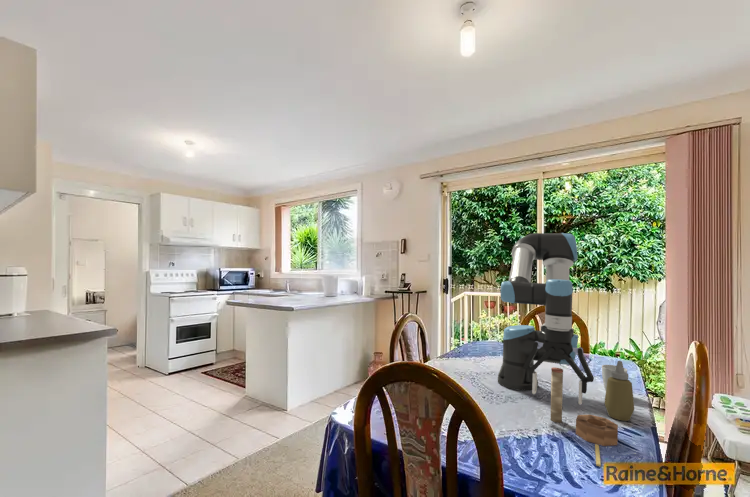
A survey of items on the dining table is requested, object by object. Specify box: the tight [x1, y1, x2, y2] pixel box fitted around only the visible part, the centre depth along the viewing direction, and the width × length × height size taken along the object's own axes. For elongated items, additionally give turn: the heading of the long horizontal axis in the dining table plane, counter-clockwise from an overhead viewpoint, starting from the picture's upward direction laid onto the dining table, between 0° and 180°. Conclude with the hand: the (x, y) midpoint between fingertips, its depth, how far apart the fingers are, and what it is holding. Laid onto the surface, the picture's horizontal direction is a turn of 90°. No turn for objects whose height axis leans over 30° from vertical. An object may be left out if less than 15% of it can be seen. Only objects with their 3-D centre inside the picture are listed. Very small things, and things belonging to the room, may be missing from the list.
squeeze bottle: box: [603, 360, 635, 422], centre depth 118 cm, size 8×8×18 cm
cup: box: [601, 364, 628, 392], centre depth 138 cm, size 8×8×10 cm
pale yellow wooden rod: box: [594, 443, 601, 468], centre depth 93 cm, size 11×1×1 cm, turn 150°
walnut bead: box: [575, 414, 619, 447], centre depth 104 cm, size 10×10×4 cm
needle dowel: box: [549, 367, 564, 424], centre depth 114 cm, size 3×3×16 cm
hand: (556, 397), depth 114 cm, fingers open, 12 cm apart
